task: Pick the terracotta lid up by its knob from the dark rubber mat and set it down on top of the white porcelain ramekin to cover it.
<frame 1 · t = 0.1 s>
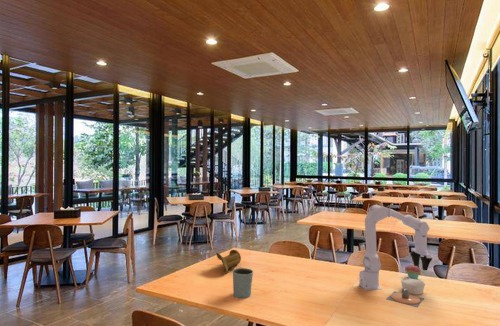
hand: (420, 268, 179), 10 cm above the table, tool pointing down, fingers open, 7 cm apart
ramekin: (412, 292, 171), on the table
cupcake: (412, 278, 193), on the table
mat: (405, 299, 160), on the table
lid: (405, 298, 160), resting on mat
grey cup: (242, 295, 163), on the table
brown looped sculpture: (228, 269, 205), on the table
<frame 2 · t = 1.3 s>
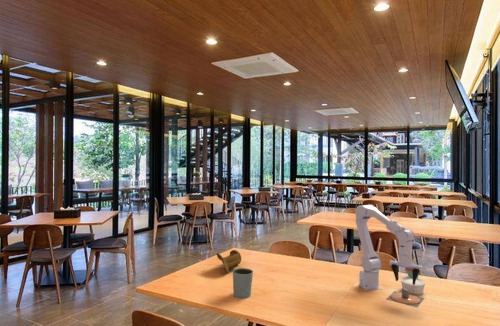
hand: (405, 282, 160), 8 cm above the table, tool pointing down, fingers open, 7 cm apart
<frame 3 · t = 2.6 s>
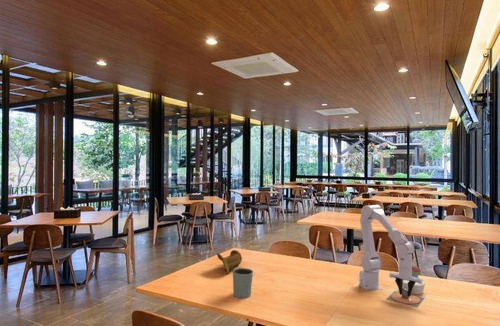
hand: (405, 295, 160), 2 cm above the table, tool pointing down, fingers closed on lid, 3 cm apart
lid: (405, 298, 160), resting on mat, touching gripper
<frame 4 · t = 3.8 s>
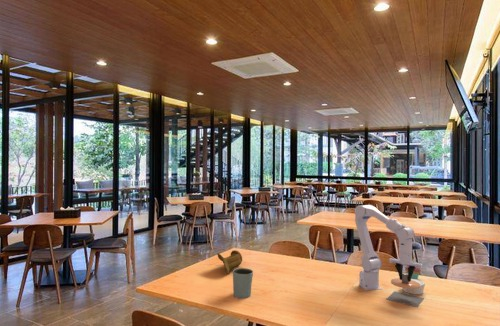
hand: (405, 280, 160), 9 cm above the table, tool pointing down, fingers closed on lid, 3 cm apart
lid: (405, 284, 160), point 8 cm above the table, touching gripper
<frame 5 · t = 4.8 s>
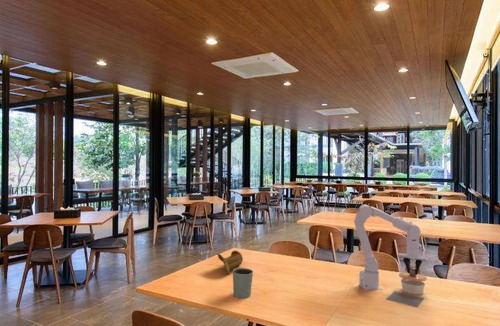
hand: (412, 273, 171), 9 cm above the table, tool pointing down, fingers closed on lid, 3 cm apart
lid: (412, 277, 171), point 7 cm above the table, touching gripper
when the fingers open (8 cm above the table, at t = 5.4 s): lid stays where it is, resting on ramekin.
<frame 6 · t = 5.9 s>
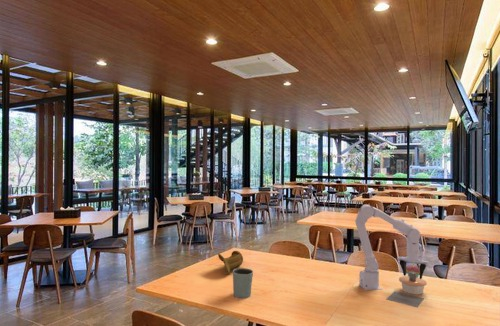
hand: (412, 276, 171), 8 cm above the table, tool pointing down, fingers open, 7 cm apart
ramekin: (412, 292, 171), on the table, touching lid
lid: (412, 281, 171), point 5 cm above the table, touching ramekin
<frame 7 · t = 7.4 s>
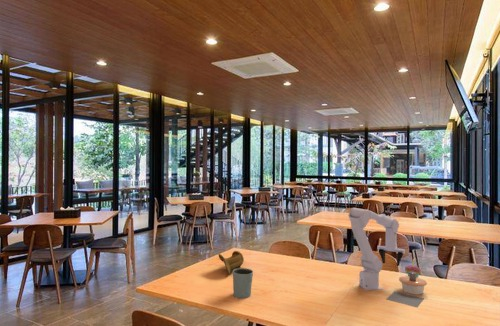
hand: (390, 264, 184), 10 cm above the table, tool pointing down, fingers open, 7 cm apart
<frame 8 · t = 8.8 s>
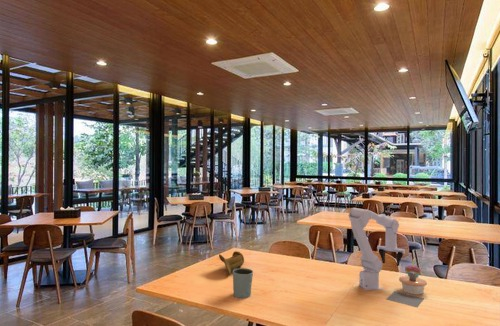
hand: (390, 264, 184), 10 cm above the table, tool pointing down, fingers open, 7 cm apart
at the end: lid 0.2 cm off-centre on the ramekin, point 5.5 cm above the ramekin's base; lid tilted 0°; the gripper is holding nothing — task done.
